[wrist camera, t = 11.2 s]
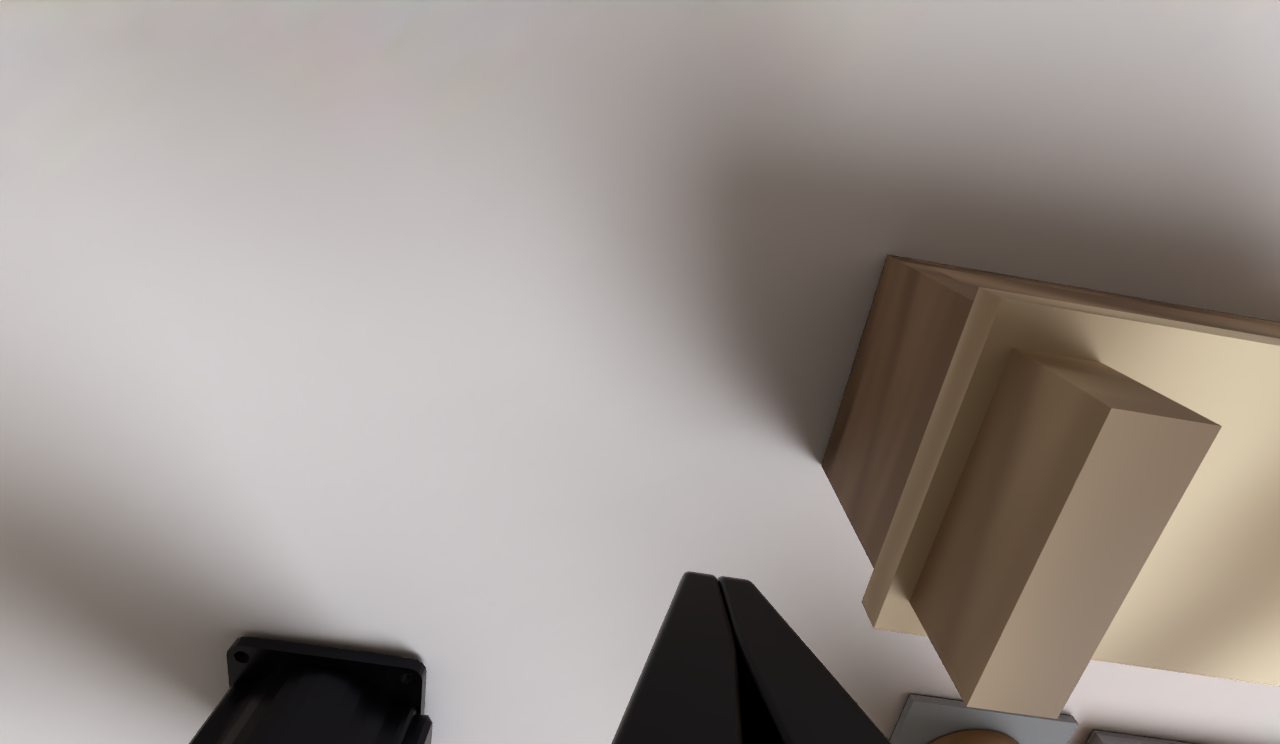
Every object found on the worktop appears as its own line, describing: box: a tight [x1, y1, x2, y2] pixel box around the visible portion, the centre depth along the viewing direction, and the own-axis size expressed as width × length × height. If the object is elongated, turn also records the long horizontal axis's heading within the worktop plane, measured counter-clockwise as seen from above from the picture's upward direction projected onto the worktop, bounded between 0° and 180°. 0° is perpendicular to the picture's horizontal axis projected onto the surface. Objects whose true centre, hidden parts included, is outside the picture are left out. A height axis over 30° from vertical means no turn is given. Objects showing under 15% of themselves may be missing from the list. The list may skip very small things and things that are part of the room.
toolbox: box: [822, 255, 1280, 568], centre depth 16 cm, size 13×6×5 cm, turn 80°
